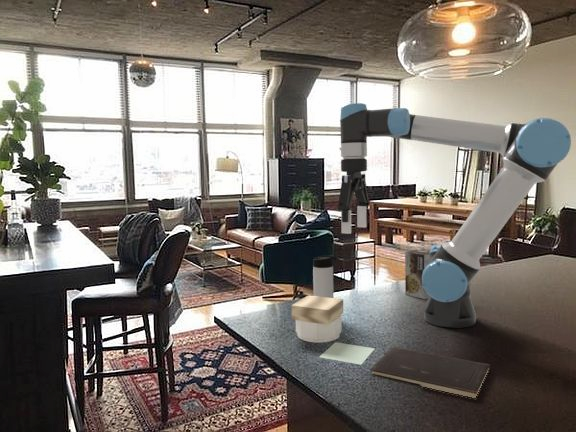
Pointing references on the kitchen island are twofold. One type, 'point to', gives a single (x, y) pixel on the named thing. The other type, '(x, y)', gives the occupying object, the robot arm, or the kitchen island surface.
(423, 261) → the coffee box
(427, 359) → the hardcover book
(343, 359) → the mat
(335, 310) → the tan box
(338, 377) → the kitchen island surface
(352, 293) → the kitchen island surface
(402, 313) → the kitchen island surface
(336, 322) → the bowl
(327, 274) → the travel mug
